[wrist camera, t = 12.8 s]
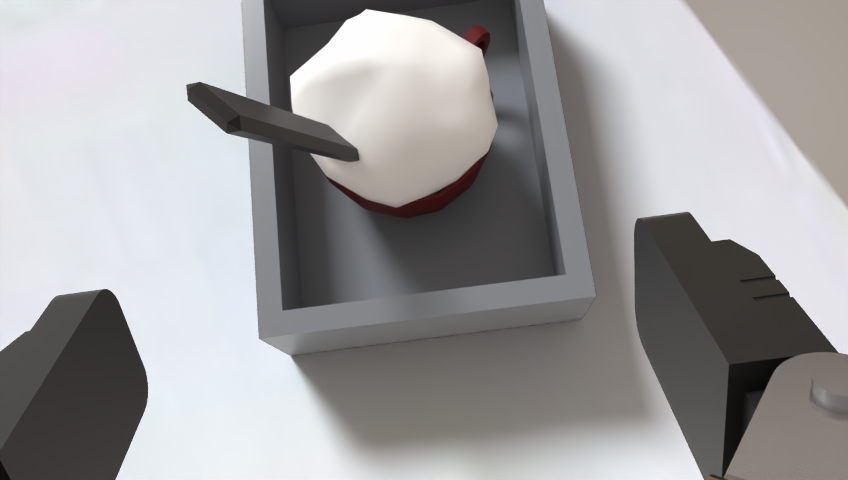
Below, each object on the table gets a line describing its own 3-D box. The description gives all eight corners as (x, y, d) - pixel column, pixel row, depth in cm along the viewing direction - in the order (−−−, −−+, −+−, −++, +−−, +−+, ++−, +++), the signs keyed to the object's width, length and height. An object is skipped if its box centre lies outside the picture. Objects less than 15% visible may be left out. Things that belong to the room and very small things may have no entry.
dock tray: (289, 355, 28) (258, 338, 24) (269, 27, 32) (239, -31, 28) (581, 319, 28) (596, 296, 24) (525, -10, 32) (529, -74, 28)
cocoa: (469, 50, 30) (468, -221, 19) (551, 179, 29) (603, -38, 17) (248, 156, 30) (110, -63, 18) (317, 297, 28) (209, 151, 16)
